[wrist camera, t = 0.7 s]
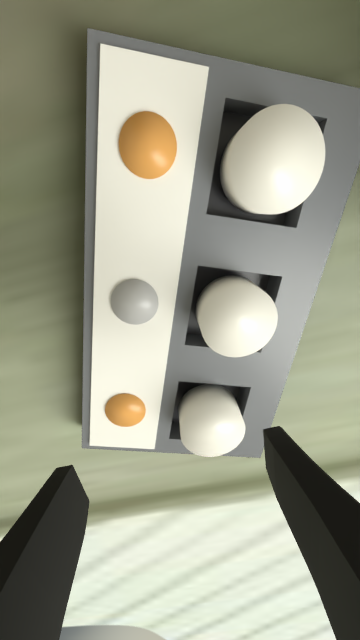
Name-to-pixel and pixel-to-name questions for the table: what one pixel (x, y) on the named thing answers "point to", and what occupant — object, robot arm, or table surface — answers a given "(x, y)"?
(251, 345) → the button
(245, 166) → the button
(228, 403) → the button
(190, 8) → the table surface
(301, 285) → the button board
